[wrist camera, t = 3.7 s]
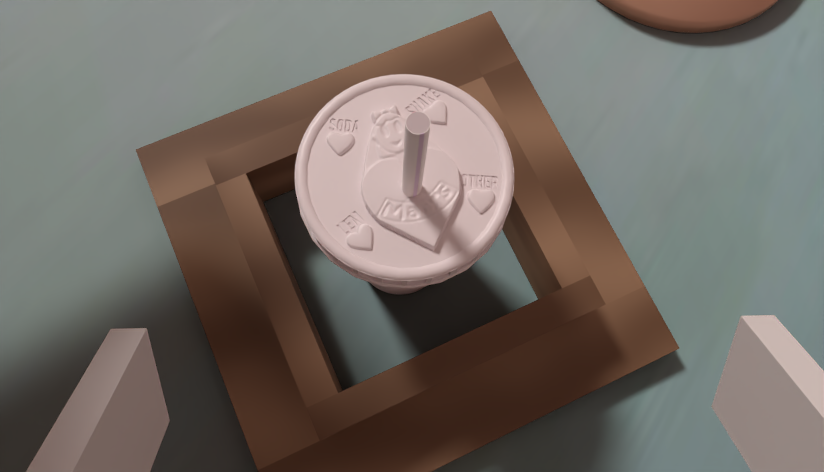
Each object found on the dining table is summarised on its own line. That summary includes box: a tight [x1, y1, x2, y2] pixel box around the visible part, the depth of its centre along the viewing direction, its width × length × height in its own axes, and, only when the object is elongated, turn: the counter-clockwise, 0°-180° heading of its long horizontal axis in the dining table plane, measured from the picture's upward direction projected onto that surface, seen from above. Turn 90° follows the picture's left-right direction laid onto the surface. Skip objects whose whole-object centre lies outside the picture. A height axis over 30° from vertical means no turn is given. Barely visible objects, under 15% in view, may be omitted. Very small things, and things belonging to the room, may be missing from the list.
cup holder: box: [136, 11, 679, 472], centre depth 26 cm, size 17×17×4 cm
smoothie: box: [295, 74, 514, 295], centre depth 21 cm, size 6×6×14 cm
